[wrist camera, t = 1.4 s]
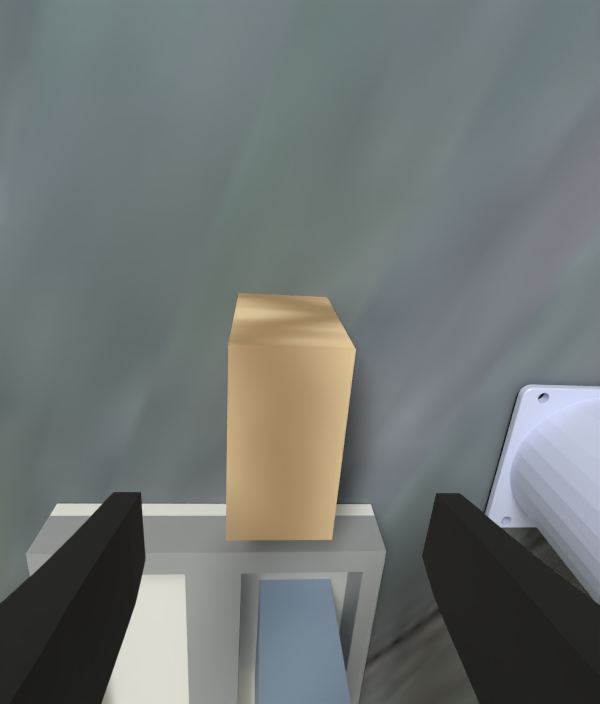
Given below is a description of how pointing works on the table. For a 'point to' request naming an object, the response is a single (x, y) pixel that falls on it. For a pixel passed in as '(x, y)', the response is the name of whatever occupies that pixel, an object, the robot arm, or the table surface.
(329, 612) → the slate-blue plug block
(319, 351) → the maple plug block
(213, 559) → the grey socket board
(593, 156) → the table surface
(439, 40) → the table surface
